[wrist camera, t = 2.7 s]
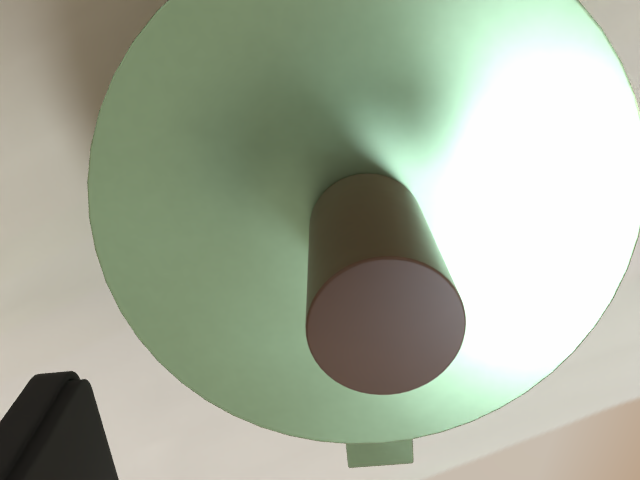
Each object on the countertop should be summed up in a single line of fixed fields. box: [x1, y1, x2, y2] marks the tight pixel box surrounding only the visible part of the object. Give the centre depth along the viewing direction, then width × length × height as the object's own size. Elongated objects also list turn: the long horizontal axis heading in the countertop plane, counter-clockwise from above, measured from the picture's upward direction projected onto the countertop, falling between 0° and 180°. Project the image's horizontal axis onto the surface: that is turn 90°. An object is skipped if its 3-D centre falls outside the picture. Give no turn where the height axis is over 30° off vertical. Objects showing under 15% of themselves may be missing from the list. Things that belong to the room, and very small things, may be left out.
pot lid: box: [87, 0, 640, 444], centre depth 15 cm, size 16×16×7 cm
